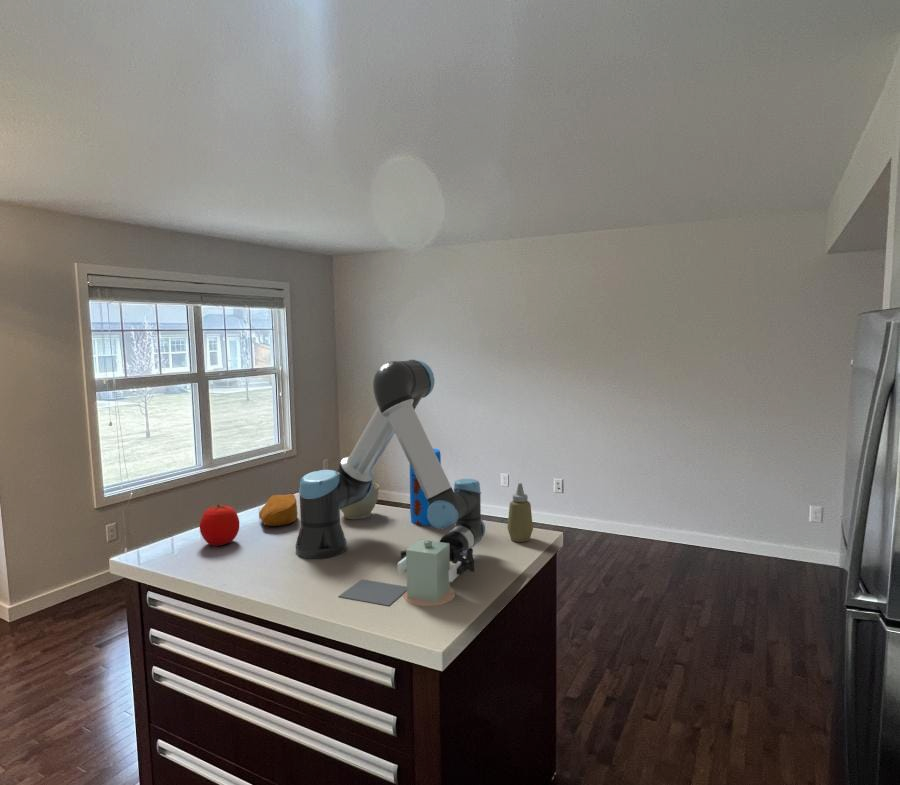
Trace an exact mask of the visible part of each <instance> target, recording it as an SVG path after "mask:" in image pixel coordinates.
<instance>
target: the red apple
mask: <svg viewBox="0 0 900 785" xmlns="http://www.w3.org/2000/svg"><path fill="white" fill-rule="evenodd" d="M239 531H240V518H239V516H238V513H237V511H236V510H235V508H233V507H231V506H229V505H227V504H226V505H225V504H219V503H218V504H215V505H213V506H210V507H207V509H206V510H205V511H204V512H203V513H202V516H201V518H200V521H199V532H200V534H201V537H202V538H203V540H204V541H205V542H206V543H207V544H208V545H211V546H215V547H218V546H223V545H226V544H229V543H231V542H233V541H234V539H236V537H237V536H238V534H239Z"/></svg>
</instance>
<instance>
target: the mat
mask: <svg viewBox="0 0 900 785" xmlns="http://www.w3.org/2000/svg"><path fill="white" fill-rule="evenodd" d="M406 591H407V585H406V586H405V585H398V584H394V583H386V582H381V581H375V580H370V579H369V580H368V579H364V578H362V579H360V580H358V581H356V583H355V584H352V585H351V587H349V588H347V589H346V590H345V591H343V592H342V593H340V595H338V596H337V597H338V598H342V599H347V600H350V601H359V602H363V603H369V604H373V605H374V604H375V605H378V606H379V605H380V606H384V607H390V606H391V605H393V604H394V603H395V602H396V601H397V600H398V599H399V598H400V597H401V596H403V593H405V592H406Z"/></svg>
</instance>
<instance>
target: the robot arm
mask: <svg viewBox="0 0 900 785" xmlns="http://www.w3.org/2000/svg"><path fill="white" fill-rule="evenodd" d="M434 376H435V375H434V372H433V370H432V368H431V367H430V365H428V364H427V363H426V362H424V361H422V360H416V359H408V360H392V361H388V362H386V363H384V364H382V365H380V366H379V368H378V369H377V370H376V372H375V374H374V376H373V381H372V382H373V383H372V391H373V395H374V399H375V402H376V405H377V408H376V409H375V411H374V412H373V415H371V418H370V419H369V422H368V423H367V425H366V427H365V428H364V430H363V432H362V434H361V436H360V437H359V439H358V441H357V443H356V444H355V446H354V447H353V450H352V451H351V453H350V455H349V456H346V457H343V458H342V459H341V461H340V462H339V464H338V466H337V468H336V469H335V470H333V469H320V470H316V471H315V470H314V471H311V472H309V473H307V474H305V475H303V476H302V477H301V479H300V480H299V489H298V495H299V508H300V509H299V512H300V529H299V532H298V535H297V537H296V538H297V539H296V542H295V554H296V556H299V557H302V558H306V559H326V558H330V557H334V556H338V555H341V554H342V553H344V552H345V551H346V550H347V539H346V537H345V533H344V530H343V527H342V525H341V510H340V509H342V508H344V507H347V506H349V505H352V504H354V503H358V502H360V501H362V500H363V499H364V498H366V497H367V496H368V495H369V494H370V492H371V490H372V488H373V483H374V481H373V480H374V477H375V472H374V469H375V467H376V466H377V464H378V462H379V460H380V458H381V457H382V455H383V453H384V452H385V450H386V448H387V446H388V445H389V443H390V442H391V441H392V438H393V436H394V435H395V436H396V438H397V440H398V442H399V444H400V446H401V449H402V450H403V453H404V454H405V457H406V459H407V461H408V463H409V466H410V465H411V467H412V469H413V471H414V474H415V476H416V478H417V480H418V482H419V484H420V486H421V488H422V490H423V492H424V494H425V497H426V499H427V501H428V503H429V505H430V506H429V508H428V510H427V517H428V520H429V522H430V523H431V525H430V526H433V527H434V528H436V529H439V530H444V529H447V528H449V527H452V526H455V527H454V528H452V529H451V530H449V531H448V532H447V533H446V534H445V535H444V536H442V537H441V538H440V539H439V542H443V543H449V550H450V562H451V563H453V566H452V567H450V570H449V582H450V583H452V582H454V580H456V578H458V576H461V575H463V574H464V573H465V572H467V571H469V572H471V573H473V572H474V573H475V570H476V569H475V563H476V562H475V559H474V549H473V547H475V546H477V544H479V543H480V542H481V540H482V539H483V537H485V534H486V524H485V523H484V521H483V519H482V514H481V512H482V511H481V509H482V508H481V506H482V505H481V504H482V503H481V502H482V500H481V494H482V492H481V485H480V484H481V483H480V482H479V480H477V479H475V478H461V479H460V478H459V479H457V480H455V482H454V484H453V485H454V486H453V488H452V486H451V483H450V481H449V479H448V477H447V476H446V472H445V470H444V469H443V467H442V464H441V465H440V462H439V460H438V458H437V456H436V454H435V452H434V450H433V449H434V448H433V446H432V444H431V442H430V439H429V438H428V436H427V433H426V431H425V429H424V427H423V425H422V423H421V421H420V419H419V417H418V414H417V413H416V410H415V409H416V408H417V406H418V405H419V402H421V400H422V399H424V398H426V397H428V396H429V395H430V394H431V393H432V392H433V389H434V387H435V381H436V380H435V377H434ZM406 550H407V549H404V550H401V551H400V560H399V561H398V562H397V563H396V564H397V566H396V568H397V574H398V575H401V574H402V573H404V572H405V571H407V565H406Z"/></svg>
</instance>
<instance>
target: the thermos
mask: <svg viewBox="0 0 900 785" xmlns="http://www.w3.org/2000/svg"><path fill="white" fill-rule="evenodd" d="M433 450H434V452H435V454H436V456H437V458H438V460H439V462H440V465H441V466H442V464H441V463H442V462H441V461H442V460H441V459H442V457H441V450H440V449H438V448H433ZM409 500H410V501H409V509H410V510H409V511H410V522H411V524H413V525H415V524H416V525H415V526H420V525H430V526H432V525H431V523H430V522H429V520H428V517H427V510H428V508H429V506H430V505H429V503H428V501H427V499H426V497H425V494H424V492H423V490H422V488H421V486H420V484H419V482H418V480H417V478H416V476H415V474H414V471H413V469H412V467H411V465H410V464H409Z"/></svg>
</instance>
